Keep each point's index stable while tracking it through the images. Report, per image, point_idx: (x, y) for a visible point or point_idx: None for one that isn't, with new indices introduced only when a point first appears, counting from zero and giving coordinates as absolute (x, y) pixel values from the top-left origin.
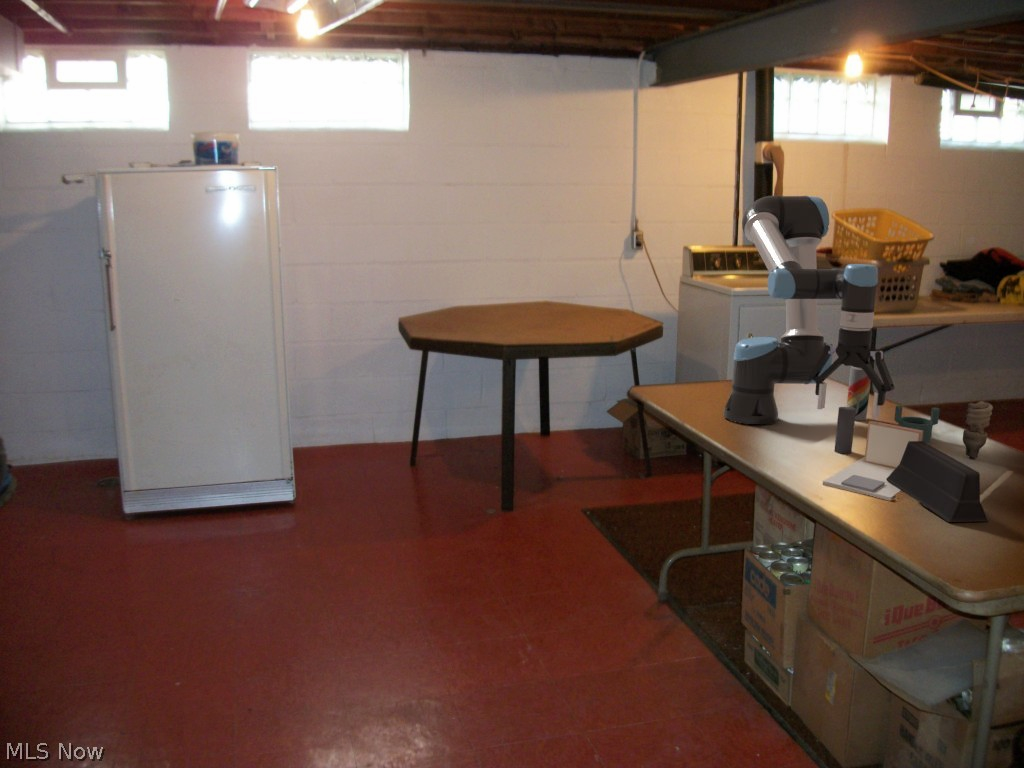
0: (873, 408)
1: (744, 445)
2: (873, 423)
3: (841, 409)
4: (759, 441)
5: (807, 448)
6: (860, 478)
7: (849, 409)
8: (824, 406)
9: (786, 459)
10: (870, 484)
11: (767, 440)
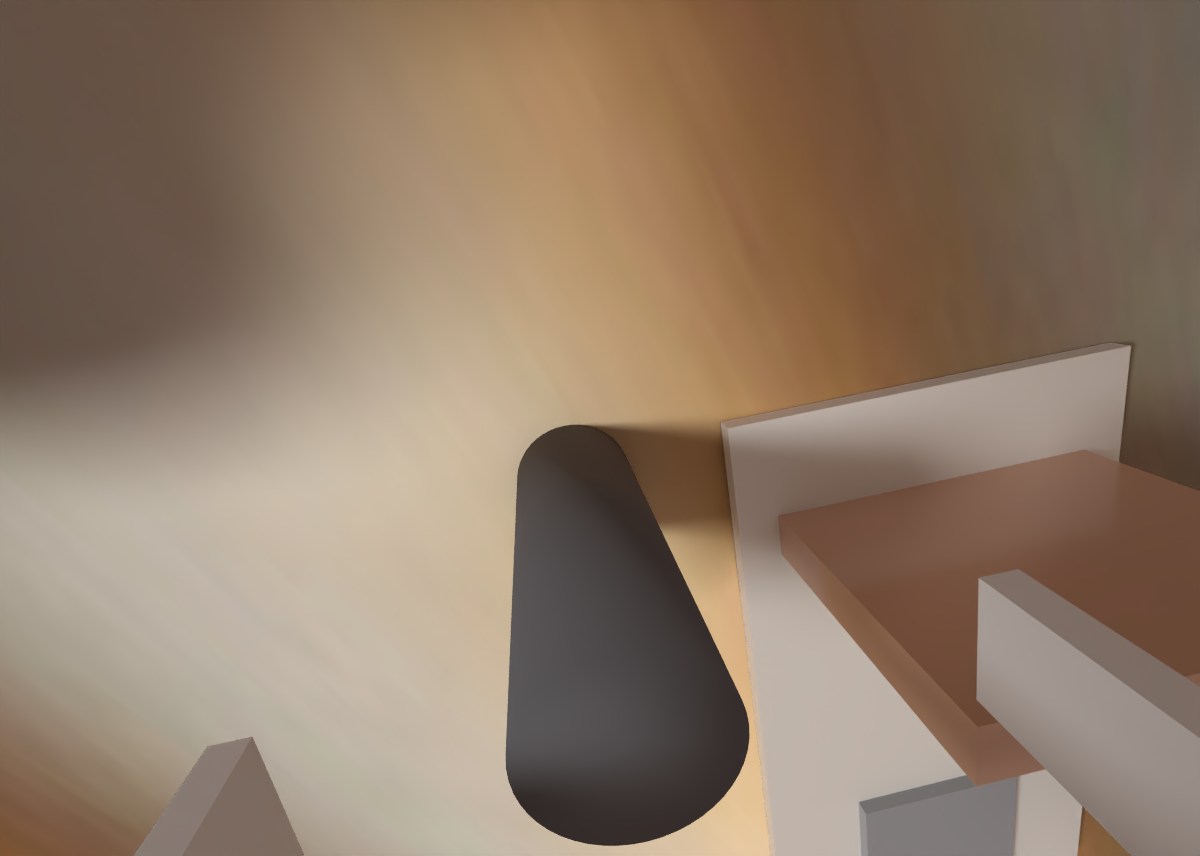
0: (1105, 816)
1: (73, 833)
2: (1021, 767)
3: (603, 843)
4: (30, 701)
5: (337, 556)
6: (913, 828)
7: (673, 759)
8: (244, 756)
9: (432, 815)
10: (978, 849)
11: (32, 640)
